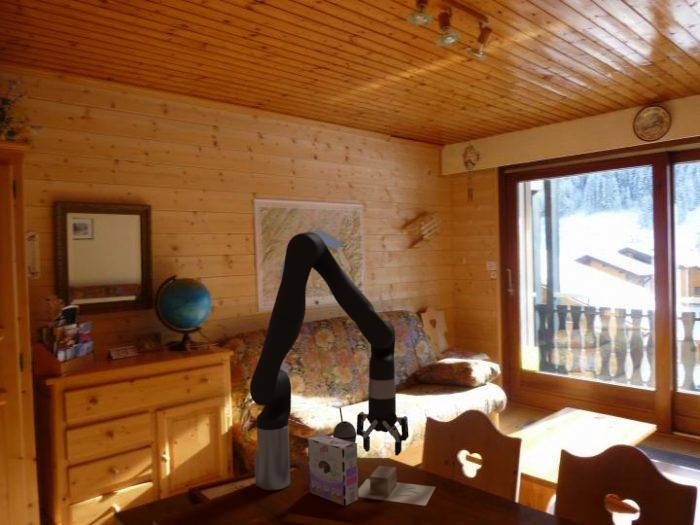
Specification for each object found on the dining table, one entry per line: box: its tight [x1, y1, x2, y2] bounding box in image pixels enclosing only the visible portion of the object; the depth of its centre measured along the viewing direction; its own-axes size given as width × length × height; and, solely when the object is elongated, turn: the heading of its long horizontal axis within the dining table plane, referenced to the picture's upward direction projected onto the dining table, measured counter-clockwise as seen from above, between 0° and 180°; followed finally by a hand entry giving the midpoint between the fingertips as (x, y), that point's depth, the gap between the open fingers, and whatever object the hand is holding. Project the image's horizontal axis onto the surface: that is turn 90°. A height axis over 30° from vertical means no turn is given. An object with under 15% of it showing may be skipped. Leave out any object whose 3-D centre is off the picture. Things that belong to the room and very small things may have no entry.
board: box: [358, 478, 436, 507], centre depth 149 cm, size 20×12×2 cm, turn 69°
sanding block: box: [369, 465, 398, 497], centre depth 150 cm, size 5×8×5 cm, turn 159°
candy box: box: [306, 433, 360, 507], centre depth 148 cm, size 14×6×16 cm, turn 47°
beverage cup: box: [332, 407, 358, 443], centre depth 167 cm, size 7×7×20 cm
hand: (382, 452), depth 151 cm, fingers open, 8 cm apart
